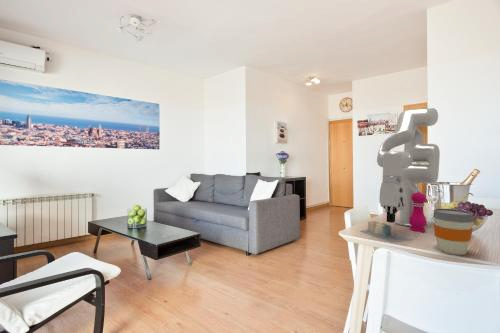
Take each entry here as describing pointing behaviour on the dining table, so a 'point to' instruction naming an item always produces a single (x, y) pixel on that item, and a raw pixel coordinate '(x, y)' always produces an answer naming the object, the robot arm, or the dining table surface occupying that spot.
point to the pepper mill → (418, 212)
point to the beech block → (379, 228)
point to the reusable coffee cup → (453, 230)
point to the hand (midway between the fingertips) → (390, 221)
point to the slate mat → (388, 237)
